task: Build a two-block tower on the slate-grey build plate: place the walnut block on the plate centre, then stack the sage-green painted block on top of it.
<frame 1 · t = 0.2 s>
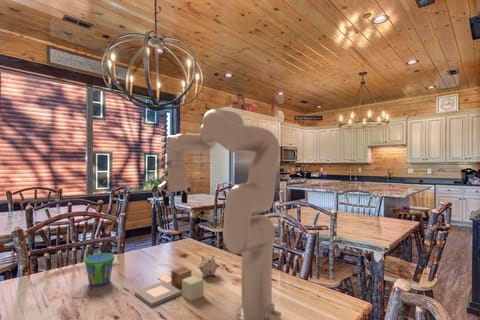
hand: (175, 204, 116), 30 cm above the table, tool pointing down, fingers open, 9 cm apart
sage block: (192, 296, 99), on the table
build plate: (158, 294, 100), on the table
snack cup: (99, 283, 110), on the table
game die: (208, 276, 116), on the table
instruction card: (172, 277, 115), on the table
walnut block: (181, 285, 107), on the table
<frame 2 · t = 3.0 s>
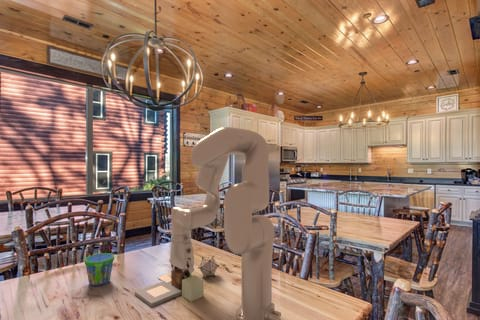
hand: (181, 283, 107), 1 cm above the table, tool pointing down, fingers closed on walnut block, 5 cm apart
walnut block: (181, 285, 107), on the table, touching gripper
everything else where it was.
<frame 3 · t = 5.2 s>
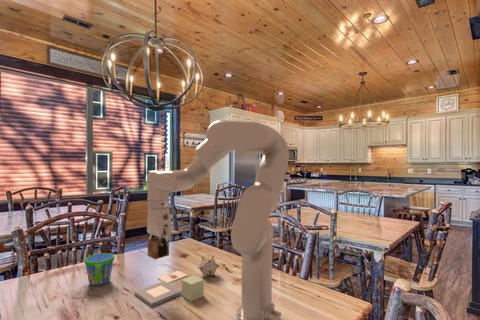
hand: (158, 253, 100), 15 cm above the table, tool pointing down, fingers closed on walnut block, 5 cm apart
walnut block: (158, 255, 100), point 14 cm above the table, touching gripper
everything else where it was.
when the fingers open (3 cm above the table, at t = 7.7 s): walnut block drops 1 cm, resting on build plate.
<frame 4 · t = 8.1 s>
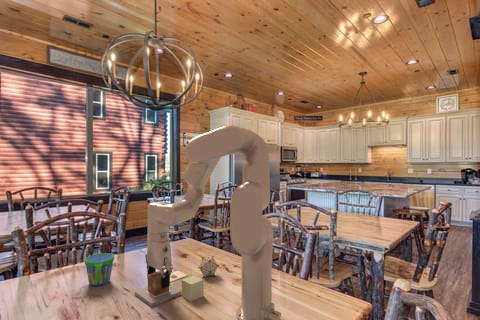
hand: (158, 282, 100), 4 cm above the table, tool pointing down, fingers open, 9 cm apart
walnut block: (158, 291, 100), point 1 cm above the table, touching build plate
everything else where it was.
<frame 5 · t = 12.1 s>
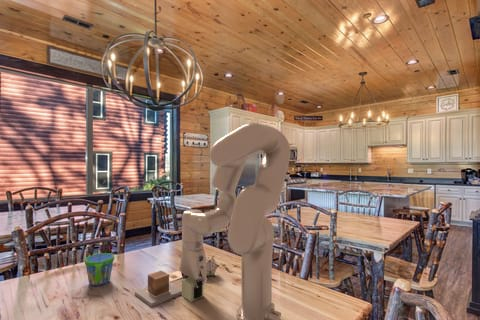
hand: (192, 293, 99), 1 cm above the table, tool pointing down, fingers closed on sage block, 5 cm apart
sage block: (192, 296, 99), on the table, touching gripper
everything else where it was.
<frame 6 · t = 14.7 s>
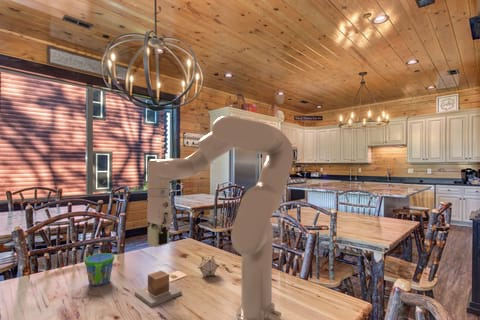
hand: (158, 241, 100), 19 cm above the table, tool pointing down, fingers closed on sage block, 5 cm apart
sage block: (158, 243, 100), point 19 cm above the table, touching gripper
everything else where it was.
when the fingers open (9 cm above the table, at t = 17.3 s): sage block drops 1 cm, resting on walnut block.
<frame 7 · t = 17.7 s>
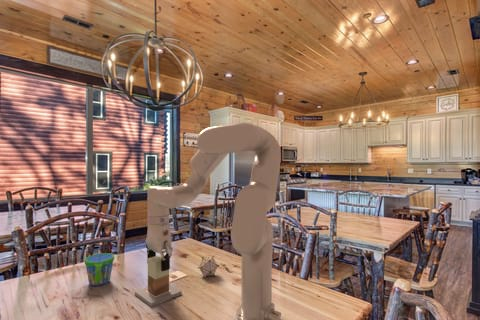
hand: (158, 266, 100), 10 cm above the table, tool pointing down, fingers open, 9 cm apart
sage block: (158, 274, 100), point 7 cm above the table, touching walnut block
walnut block: (158, 291, 100), point 1 cm above the table, touching build plate, sage block
everything else where it was.
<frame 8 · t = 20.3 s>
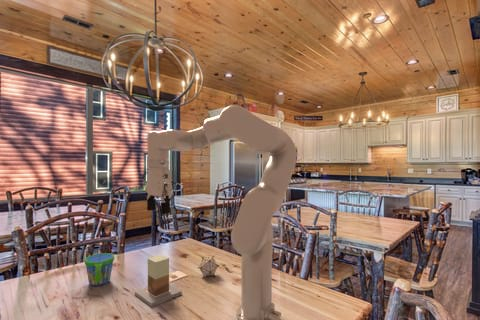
hand: (158, 211, 100), 30 cm above the table, tool pointing down, fingers open, 9 cm apart
nothing on the table moved.
at the end: walnut block 0.0 cm off-centre on the build plate, point 1.3 cm above the build plate's base; sage block 0.0 cm off-centre on the walnut block, point 6.0 cm above the walnut block's base; sage block tilted 0° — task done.
